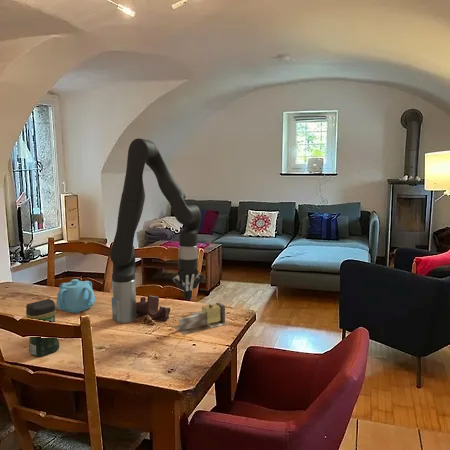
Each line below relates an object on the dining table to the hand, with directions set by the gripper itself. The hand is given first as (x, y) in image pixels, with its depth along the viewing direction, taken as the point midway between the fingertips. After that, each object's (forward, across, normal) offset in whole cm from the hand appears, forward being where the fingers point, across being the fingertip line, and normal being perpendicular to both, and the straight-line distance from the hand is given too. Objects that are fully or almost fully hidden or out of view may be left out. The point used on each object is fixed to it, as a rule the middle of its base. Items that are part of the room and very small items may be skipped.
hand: (187, 299), depth 182 cm
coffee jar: (+14, +53, -6) cm, 55 cm away
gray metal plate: (+12, -11, -8) cm, 18 cm away
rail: (+12, -4, +3) cm, 13 cm away
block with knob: (+10, -9, +3) cm, 13 cm away
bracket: (+12, +8, -17) cm, 22 cm away
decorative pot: (+14, +34, -45) cm, 58 cm away
